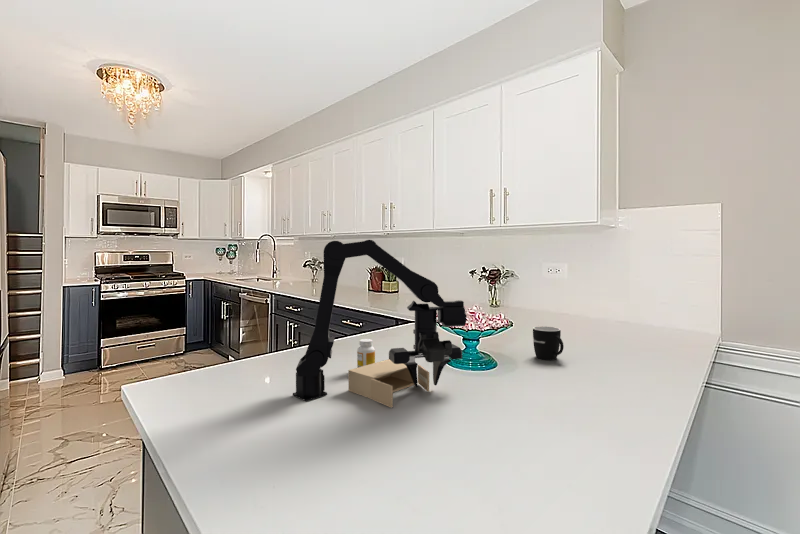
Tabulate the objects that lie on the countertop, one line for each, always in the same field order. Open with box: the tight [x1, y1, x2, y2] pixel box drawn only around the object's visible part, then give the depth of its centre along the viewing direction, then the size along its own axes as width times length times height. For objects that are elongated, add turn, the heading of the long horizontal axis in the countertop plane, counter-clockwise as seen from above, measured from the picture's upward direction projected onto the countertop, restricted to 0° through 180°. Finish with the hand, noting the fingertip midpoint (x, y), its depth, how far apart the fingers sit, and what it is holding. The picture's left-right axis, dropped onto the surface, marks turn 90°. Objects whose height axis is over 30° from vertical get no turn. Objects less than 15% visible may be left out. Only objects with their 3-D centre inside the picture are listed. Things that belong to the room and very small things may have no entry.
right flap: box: [417, 364, 430, 392], centre depth 113 cm, size 8×1×5 cm, turn 17°
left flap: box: [370, 379, 394, 408], centre depth 101 cm, size 8×1×5 cm, turn 42°
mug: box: [532, 325, 564, 361], centre depth 143 cm, size 12×9×10 cm
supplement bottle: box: [356, 338, 376, 368], centre depth 128 cm, size 5×5×10 cm
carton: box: [347, 358, 414, 399], centre depth 114 cm, size 16×10×6 cm, turn 137°
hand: (425, 386), depth 111 cm, fingers open, 5 cm apart
